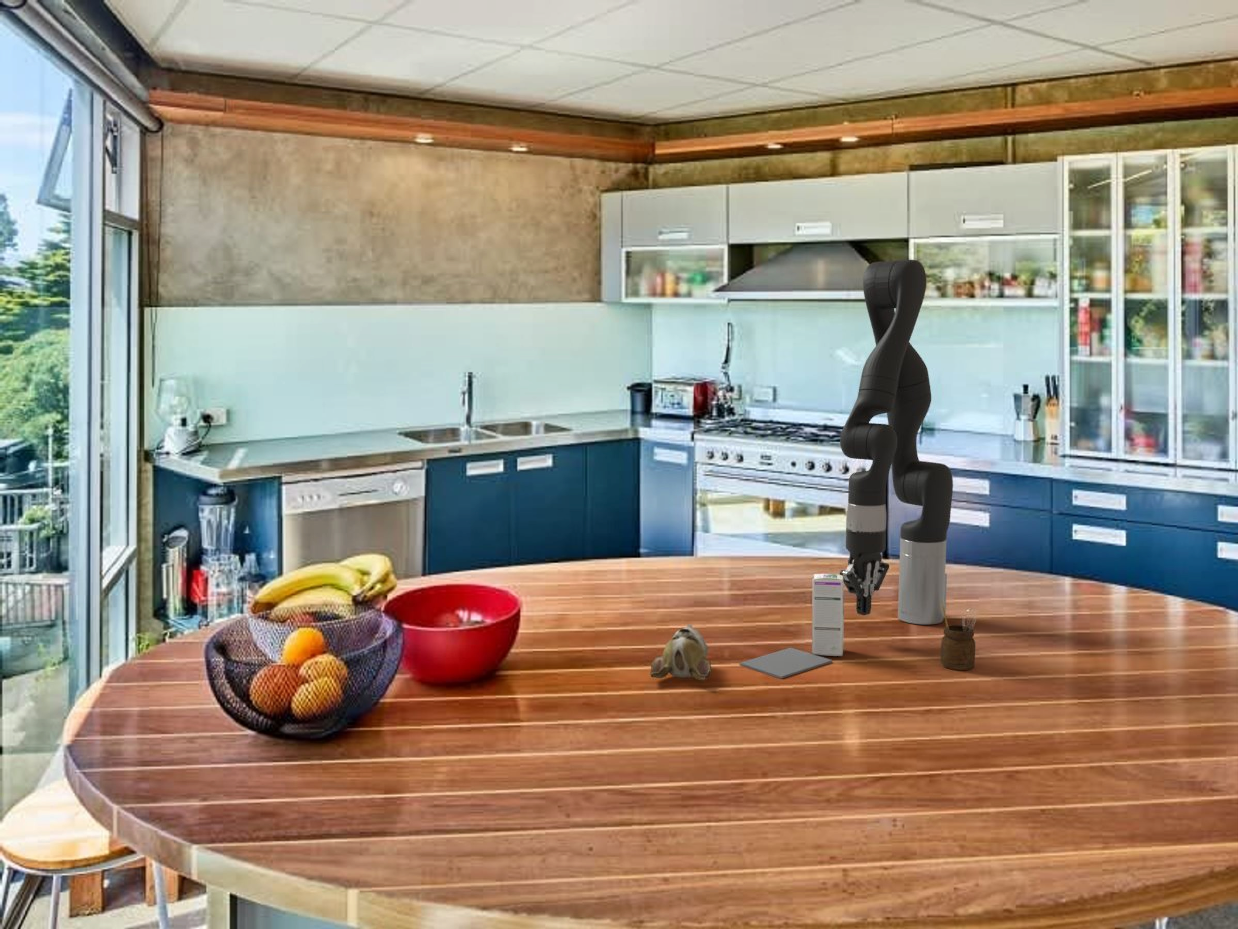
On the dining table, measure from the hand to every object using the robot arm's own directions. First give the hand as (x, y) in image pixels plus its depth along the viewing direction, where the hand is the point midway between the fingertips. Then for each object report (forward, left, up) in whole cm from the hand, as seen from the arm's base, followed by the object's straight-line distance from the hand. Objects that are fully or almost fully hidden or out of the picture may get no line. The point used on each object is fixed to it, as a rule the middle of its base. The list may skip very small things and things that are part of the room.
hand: (863, 614), depth 208 cm
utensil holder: (-1, +20, -6) cm, 21 cm away
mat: (+21, -1, -6) cm, 22 cm away
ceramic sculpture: (+40, -9, -6) cm, 41 cm away
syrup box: (+11, 0, -6) cm, 12 cm away
